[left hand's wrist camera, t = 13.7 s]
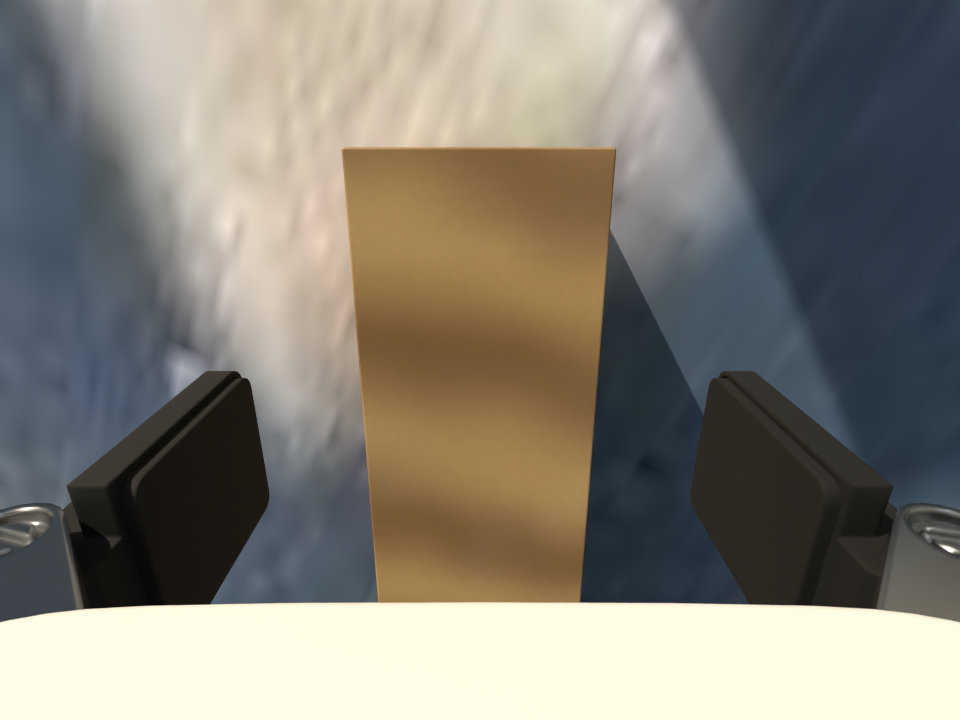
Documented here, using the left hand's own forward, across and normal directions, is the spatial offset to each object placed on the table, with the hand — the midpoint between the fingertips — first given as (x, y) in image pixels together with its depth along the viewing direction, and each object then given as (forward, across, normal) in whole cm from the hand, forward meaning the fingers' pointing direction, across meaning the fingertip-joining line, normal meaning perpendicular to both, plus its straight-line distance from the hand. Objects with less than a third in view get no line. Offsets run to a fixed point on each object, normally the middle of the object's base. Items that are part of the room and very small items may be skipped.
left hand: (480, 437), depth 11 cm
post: (+9, 0, -27) cm, 28 cm away
